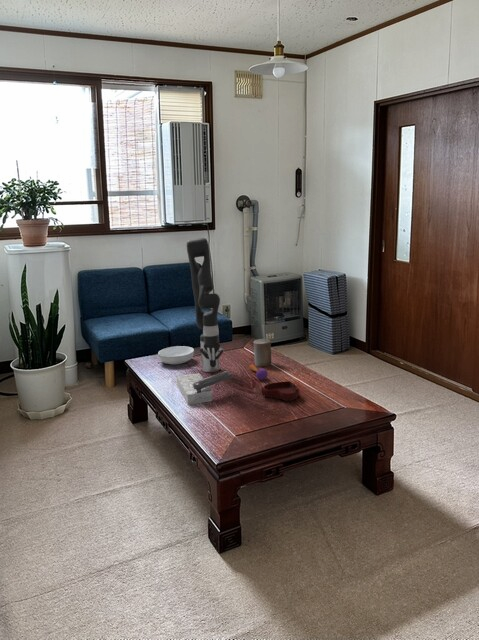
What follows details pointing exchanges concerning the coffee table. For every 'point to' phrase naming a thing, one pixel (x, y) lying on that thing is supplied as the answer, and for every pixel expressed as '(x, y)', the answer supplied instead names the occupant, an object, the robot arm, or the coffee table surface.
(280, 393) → the ashtray
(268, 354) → the pillar candle
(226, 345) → the coffee table surface
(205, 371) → the robot arm
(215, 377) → the bar
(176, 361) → the serving bowl
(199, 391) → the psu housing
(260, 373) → the kendama
